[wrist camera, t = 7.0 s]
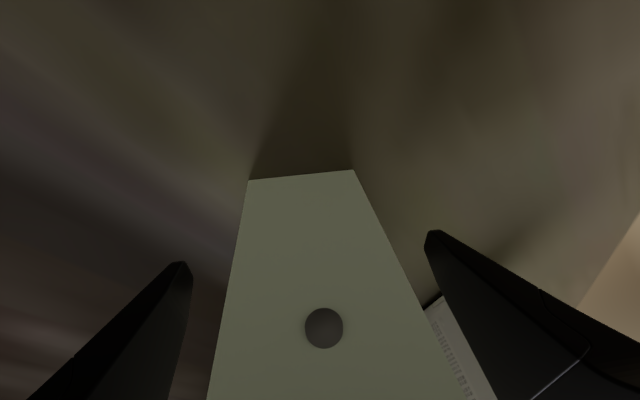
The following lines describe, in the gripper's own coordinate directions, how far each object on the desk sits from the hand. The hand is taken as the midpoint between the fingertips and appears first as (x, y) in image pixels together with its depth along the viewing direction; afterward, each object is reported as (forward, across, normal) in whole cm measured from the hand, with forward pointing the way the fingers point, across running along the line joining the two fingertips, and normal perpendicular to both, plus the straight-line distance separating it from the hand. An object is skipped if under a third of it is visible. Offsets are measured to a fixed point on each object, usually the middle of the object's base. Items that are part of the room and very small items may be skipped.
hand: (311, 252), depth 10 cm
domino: (+4, 0, 0) cm, 4 cm away
